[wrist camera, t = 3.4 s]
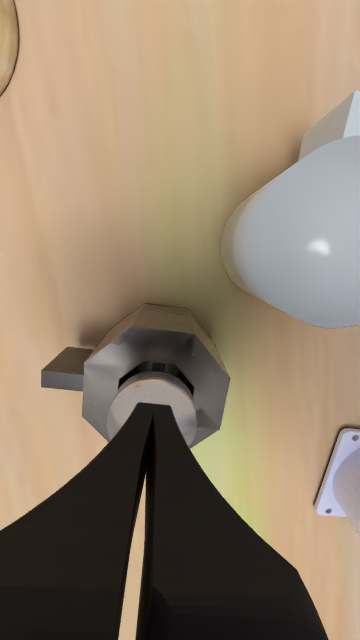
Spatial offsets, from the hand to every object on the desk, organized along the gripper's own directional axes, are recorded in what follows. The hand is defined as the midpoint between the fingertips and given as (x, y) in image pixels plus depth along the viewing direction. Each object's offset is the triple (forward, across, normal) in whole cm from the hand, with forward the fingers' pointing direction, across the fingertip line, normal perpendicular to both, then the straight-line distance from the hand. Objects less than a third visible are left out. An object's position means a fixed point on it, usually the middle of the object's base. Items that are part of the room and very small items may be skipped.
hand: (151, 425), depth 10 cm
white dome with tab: (+7, -6, -8) cm, 12 cm away
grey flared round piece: (+6, 0, 0) cm, 6 cm away
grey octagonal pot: (+7, +1, 0) cm, 7 cm away
